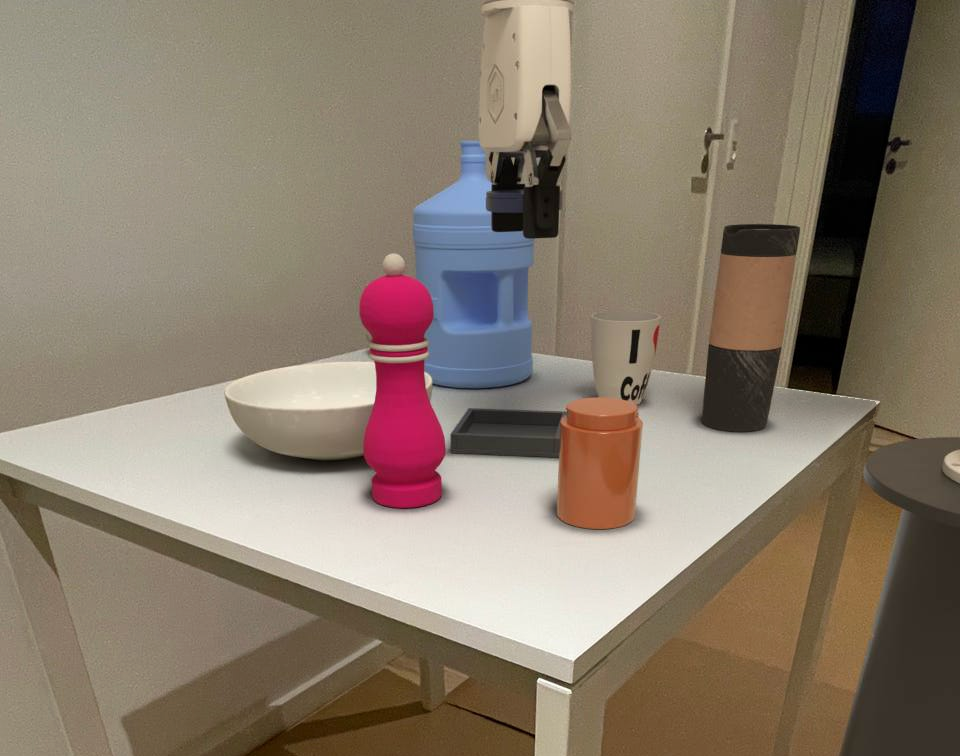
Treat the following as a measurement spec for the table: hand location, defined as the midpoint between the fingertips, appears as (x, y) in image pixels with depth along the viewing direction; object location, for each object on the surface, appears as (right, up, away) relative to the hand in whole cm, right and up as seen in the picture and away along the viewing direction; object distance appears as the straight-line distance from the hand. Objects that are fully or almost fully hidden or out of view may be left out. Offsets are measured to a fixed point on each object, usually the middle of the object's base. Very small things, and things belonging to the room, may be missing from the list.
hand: (523, 232), depth 77 cm
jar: (+6, -27, -6) cm, 28 cm away
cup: (+13, -8, +27) cm, 31 cm away
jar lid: (0, +3, -2) cm, 3 cm away
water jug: (-5, -1, +39) cm, 39 cm away
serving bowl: (-19, -17, +11) cm, 28 cm away
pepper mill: (-11, -25, -1) cm, 27 cm away
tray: (-1, -16, +13) cm, 21 cm away
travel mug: (+25, -13, +18) cm, 33 cm away
